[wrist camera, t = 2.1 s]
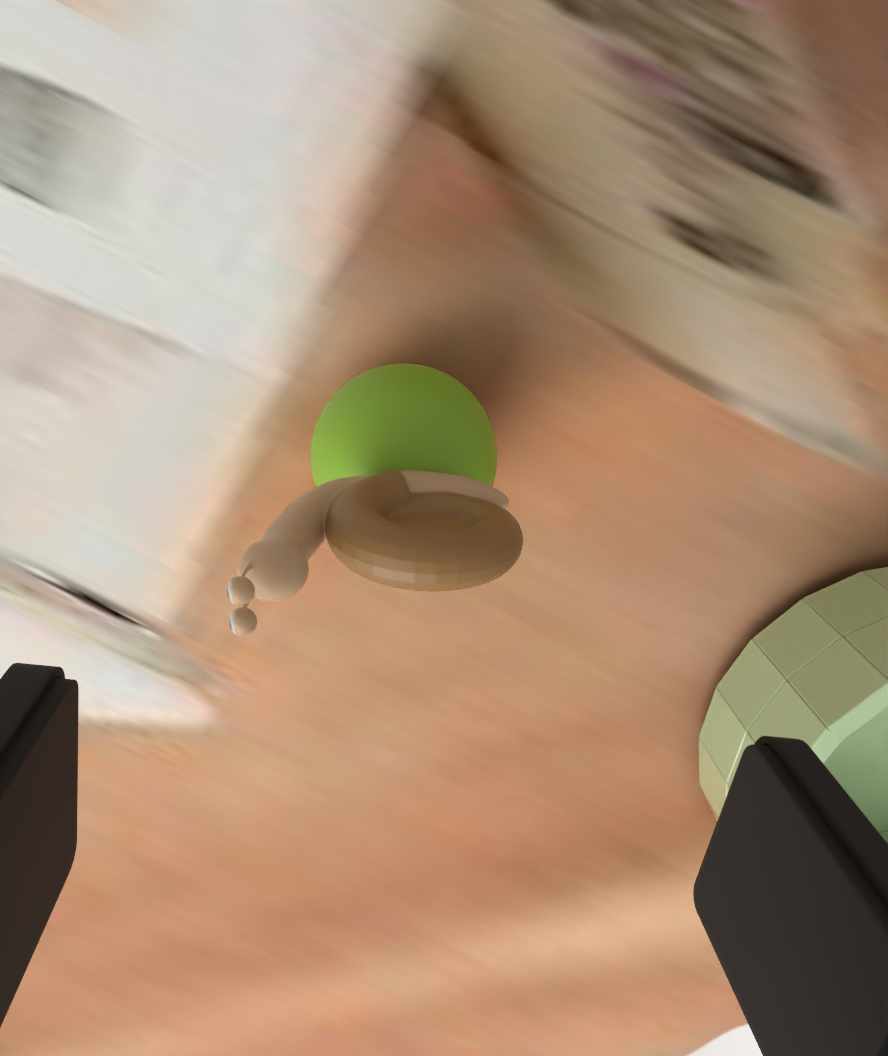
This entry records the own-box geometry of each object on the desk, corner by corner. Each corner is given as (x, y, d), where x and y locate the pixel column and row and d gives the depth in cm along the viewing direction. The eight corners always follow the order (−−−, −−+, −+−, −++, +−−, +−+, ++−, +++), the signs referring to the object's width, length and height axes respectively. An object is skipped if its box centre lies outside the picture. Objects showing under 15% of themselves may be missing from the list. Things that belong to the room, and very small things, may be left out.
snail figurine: (280, 345, 25) (212, 473, 14) (488, 348, 25) (579, 474, 14) (288, 509, 27) (233, 734, 16) (479, 509, 28) (554, 725, 17)
